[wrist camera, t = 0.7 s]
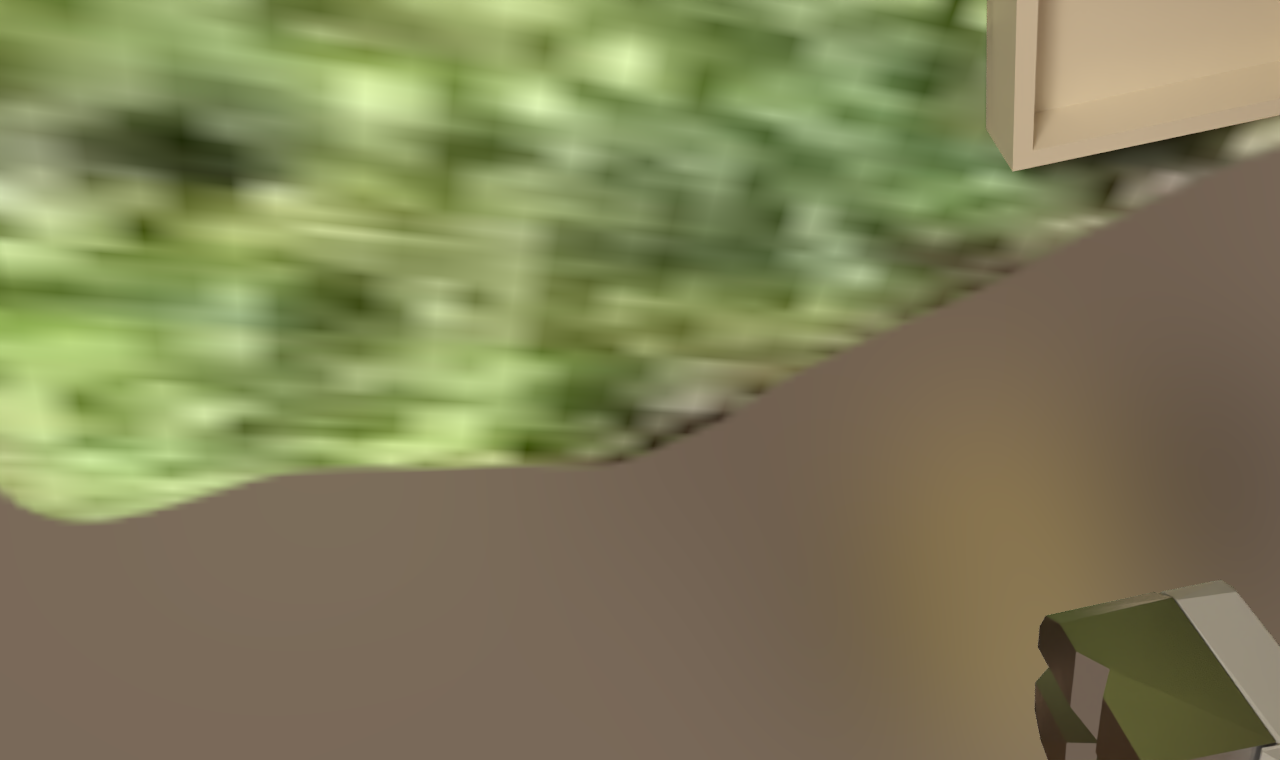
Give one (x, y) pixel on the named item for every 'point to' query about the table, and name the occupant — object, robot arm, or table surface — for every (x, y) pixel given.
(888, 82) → the table surface
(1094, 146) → the cream bin
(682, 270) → the table surface
